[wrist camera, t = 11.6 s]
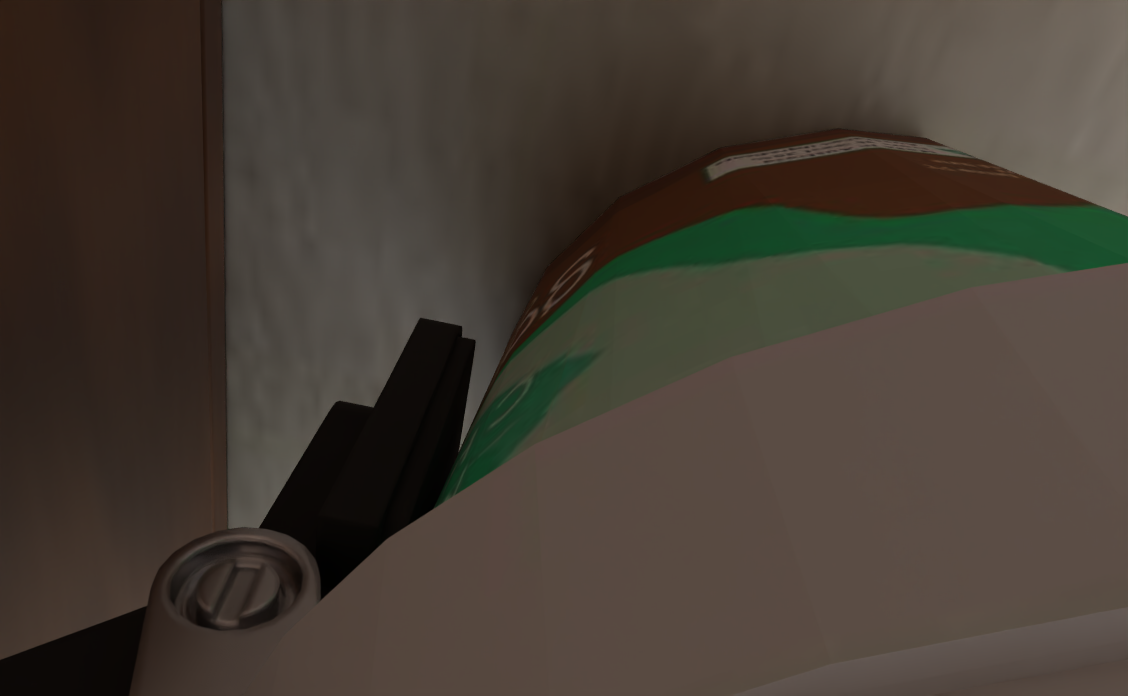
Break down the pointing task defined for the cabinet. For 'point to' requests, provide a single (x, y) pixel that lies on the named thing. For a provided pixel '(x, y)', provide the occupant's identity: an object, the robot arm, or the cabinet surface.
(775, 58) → the cabinet surface
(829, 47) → the cabinet surface
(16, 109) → the chest
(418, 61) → the cabinet surface
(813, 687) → the food container
